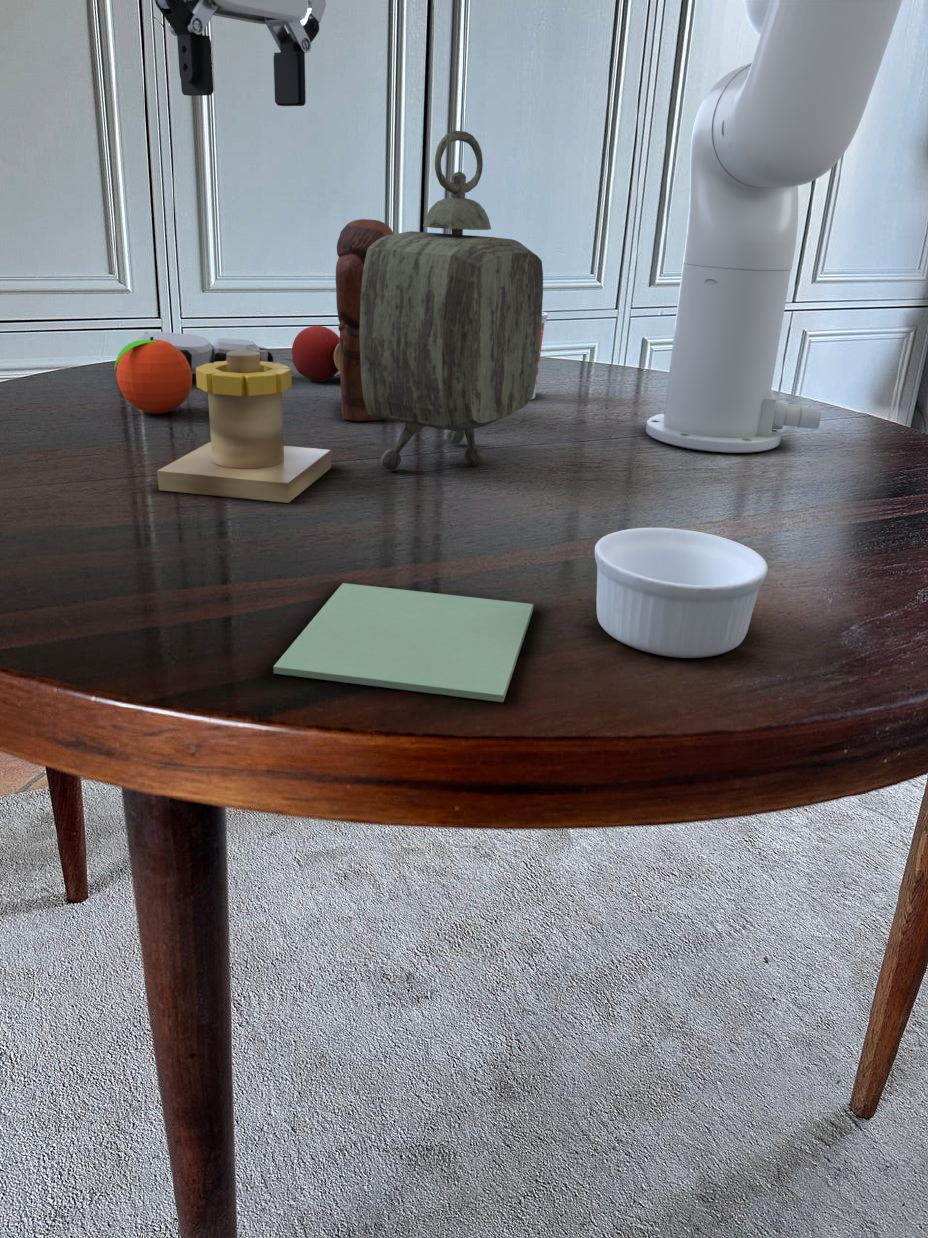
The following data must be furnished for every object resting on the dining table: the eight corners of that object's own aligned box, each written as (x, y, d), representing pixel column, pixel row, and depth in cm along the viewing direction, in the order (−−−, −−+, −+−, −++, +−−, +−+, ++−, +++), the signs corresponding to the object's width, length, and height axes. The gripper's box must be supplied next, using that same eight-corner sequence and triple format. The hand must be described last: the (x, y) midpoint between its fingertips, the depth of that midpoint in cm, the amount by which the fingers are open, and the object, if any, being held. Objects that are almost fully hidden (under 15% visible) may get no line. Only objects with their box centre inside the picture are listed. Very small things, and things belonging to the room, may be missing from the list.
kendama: (444, 387, 119) (294, 361, 118) (453, 336, 116) (299, 308, 114) (443, 412, 113) (285, 385, 111) (453, 359, 110) (290, 330, 108)
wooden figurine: (401, 424, 95) (404, 223, 88) (334, 422, 95) (332, 220, 87) (401, 399, 106) (404, 218, 99) (341, 397, 106) (339, 215, 98)
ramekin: (716, 595, 58) (727, 525, 56) (783, 663, 50) (798, 583, 48) (569, 599, 57) (576, 527, 55) (614, 669, 49) (624, 587, 47)
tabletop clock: (447, 437, 91) (458, 135, 81) (537, 453, 87) (560, 137, 77) (359, 472, 79) (358, 123, 69) (458, 491, 75) (473, 125, 65)
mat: (533, 610, 55) (533, 603, 55) (503, 702, 45) (503, 695, 45) (342, 589, 57) (342, 582, 56) (273, 673, 47) (273, 666, 47)
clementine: (144, 426, 90) (136, 346, 87) (95, 414, 94) (86, 337, 91) (209, 412, 97) (205, 337, 94) (161, 402, 100) (155, 329, 97)
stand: (331, 467, 80) (329, 347, 76) (288, 503, 71) (284, 368, 67) (215, 457, 82) (207, 338, 78) (158, 490, 73) (147, 358, 69)
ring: (302, 382, 76) (301, 363, 75) (270, 398, 70) (270, 378, 69) (221, 376, 77) (219, 357, 76) (183, 391, 71) (182, 372, 70)
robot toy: (269, 374, 120) (140, 365, 116) (271, 336, 118) (139, 325, 115) (275, 395, 109) (132, 385, 105) (277, 353, 108) (131, 341, 104)
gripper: (169, -201, 66) (187, 89, 73) (352, -134, 79) (352, 109, 85) (104, -182, 70) (127, 91, 77) (287, -121, 83) (293, 109, 90)
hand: (245, 100), depth 81 cm, fingers open, 9 cm apart
